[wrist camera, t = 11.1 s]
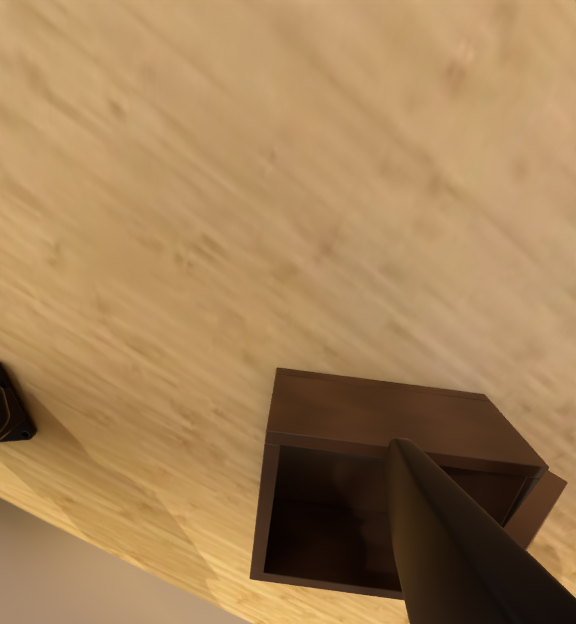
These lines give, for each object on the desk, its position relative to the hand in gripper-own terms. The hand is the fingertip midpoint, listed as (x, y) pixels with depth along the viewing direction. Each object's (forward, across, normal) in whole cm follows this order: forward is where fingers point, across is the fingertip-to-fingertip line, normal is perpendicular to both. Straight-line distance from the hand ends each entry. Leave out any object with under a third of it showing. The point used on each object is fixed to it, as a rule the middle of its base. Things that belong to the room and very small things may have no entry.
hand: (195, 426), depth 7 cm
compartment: (+12, -8, +11) cm, 18 cm away
